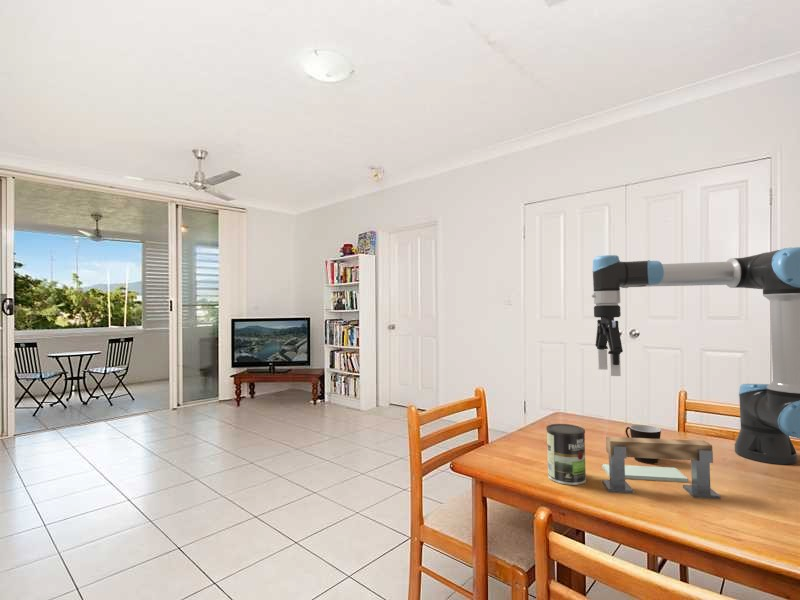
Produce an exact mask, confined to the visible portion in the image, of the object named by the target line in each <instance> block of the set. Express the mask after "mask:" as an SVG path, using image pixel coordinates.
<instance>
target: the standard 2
mask: <svg viewBox="0 0 800 600" xmlns="http://www.w3.org/2000/svg"><path fill="white" fill-rule="evenodd" d="M713 452H714V451H713V449H712V450H702V449H698V461H694V460H690V468H691V469H690V472H691V473H690V474H691V475H690V476H691V484H682V489H683V490H685V491H686V492H687V493H688V494H689V495H690V496H691V497H692V498H695V499H709V500H710V499H711V500H721V498H722V497H721V495H720V494H719V493H717V492H716V491H715V490H714V489H713V488H711V467H710V466H711V465H710V464H713V463H714V453H713Z"/></svg>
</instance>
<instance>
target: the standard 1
mask: <svg viewBox="0 0 800 600" xmlns="http://www.w3.org/2000/svg"><path fill="white" fill-rule="evenodd" d="M627 458H628V457H626V446H613V456H610V455H609V454H608V464H609V474H610V477H609V480H608V479H601V481H602V482H601V483H602V484H603V486H604V487H605V489H606V490H607V492H608V493H617V494H618V493H619V494H632V495H633V494H634V489H633V488H632V487H631V485H630V484H629V483H628V482H627V481H626V479H625V465H626V463H625V460H627Z"/></svg>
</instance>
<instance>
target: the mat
mask: <svg viewBox="0 0 800 600" xmlns="http://www.w3.org/2000/svg"><path fill="white" fill-rule="evenodd" d="M601 468H602V469H603V471H605V473H606V474H607V476H608V477H609V478H610V474H609V463H607V464H606V463H603V464H602V466H601ZM626 479H628V480H641V481H642V480H645V481H659V482H677V483H678V482H679V483H689V478H688V477H687V476H686V475H685V474H683V473H682V472H681V471H680V470H679V469H678V468H676V467H667V466H666V467H664V466H647V465H645V466H644V465H629V464H628V465H626V464H625V480H626Z"/></svg>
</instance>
